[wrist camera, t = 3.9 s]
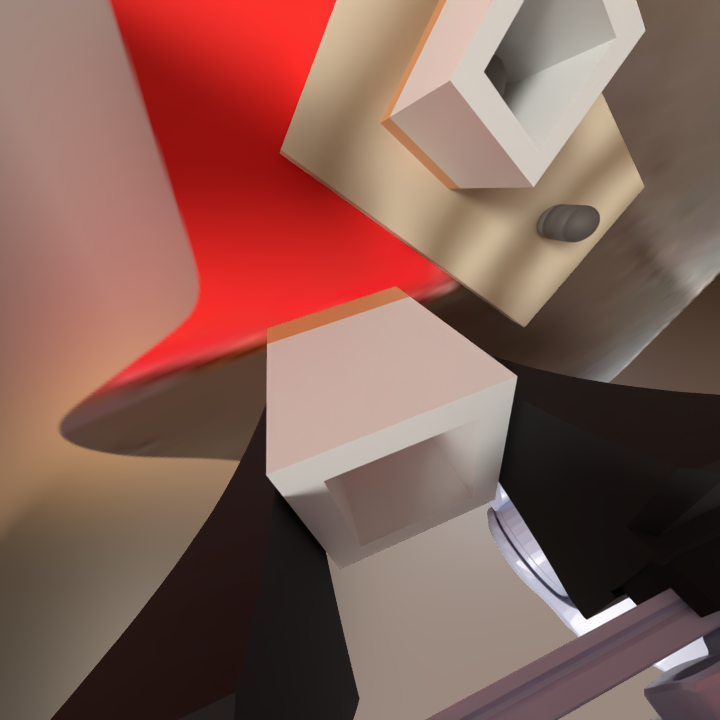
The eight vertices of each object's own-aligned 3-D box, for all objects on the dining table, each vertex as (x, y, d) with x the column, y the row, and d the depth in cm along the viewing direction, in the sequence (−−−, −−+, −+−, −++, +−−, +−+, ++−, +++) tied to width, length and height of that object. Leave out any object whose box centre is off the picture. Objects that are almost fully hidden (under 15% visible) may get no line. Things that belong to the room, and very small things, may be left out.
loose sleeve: (395, 286, 10) (517, 375, 5) (409, 383, 13) (495, 499, 8) (267, 328, 9) (266, 474, 5) (311, 420, 12) (340, 569, 7)
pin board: (621, 186, 20) (711, 185, 16) (511, 320, 24) (560, 346, 20) (415, -208, 9) (530, -518, 5) (279, 153, 13) (284, 136, 9)
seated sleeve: (508, 88, 13) (645, 30, 8) (448, 188, 15) (533, 187, 10) (443, -9, 11) (583, -169, 6) (379, 123, 13) (450, 80, 8)
